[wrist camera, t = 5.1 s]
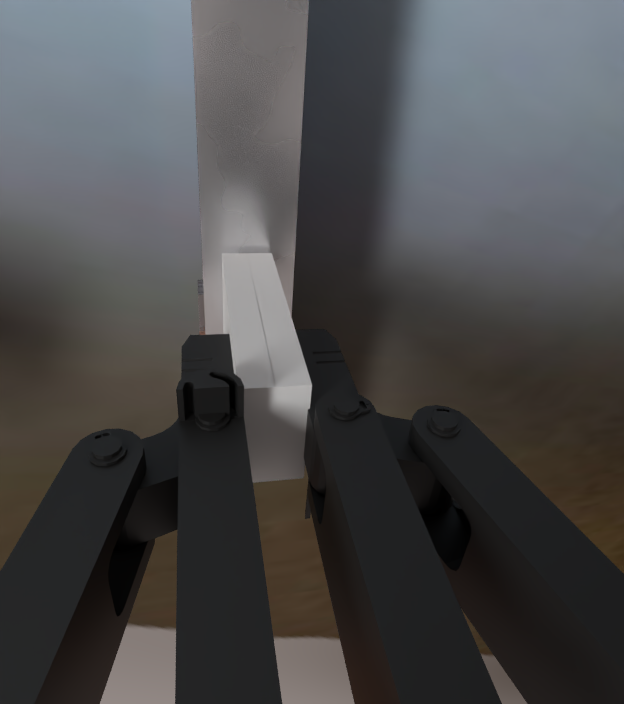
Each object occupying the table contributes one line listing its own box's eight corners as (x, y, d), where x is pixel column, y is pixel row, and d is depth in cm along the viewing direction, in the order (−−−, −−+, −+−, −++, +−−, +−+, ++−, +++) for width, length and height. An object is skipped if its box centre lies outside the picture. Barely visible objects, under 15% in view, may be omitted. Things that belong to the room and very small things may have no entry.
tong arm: (360, -994, 8) (391, -1172, 7) (283, 432, 23) (289, 458, 21) (129, -1094, 7) (118, -1312, 6) (204, 438, 22) (205, 464, 21)
